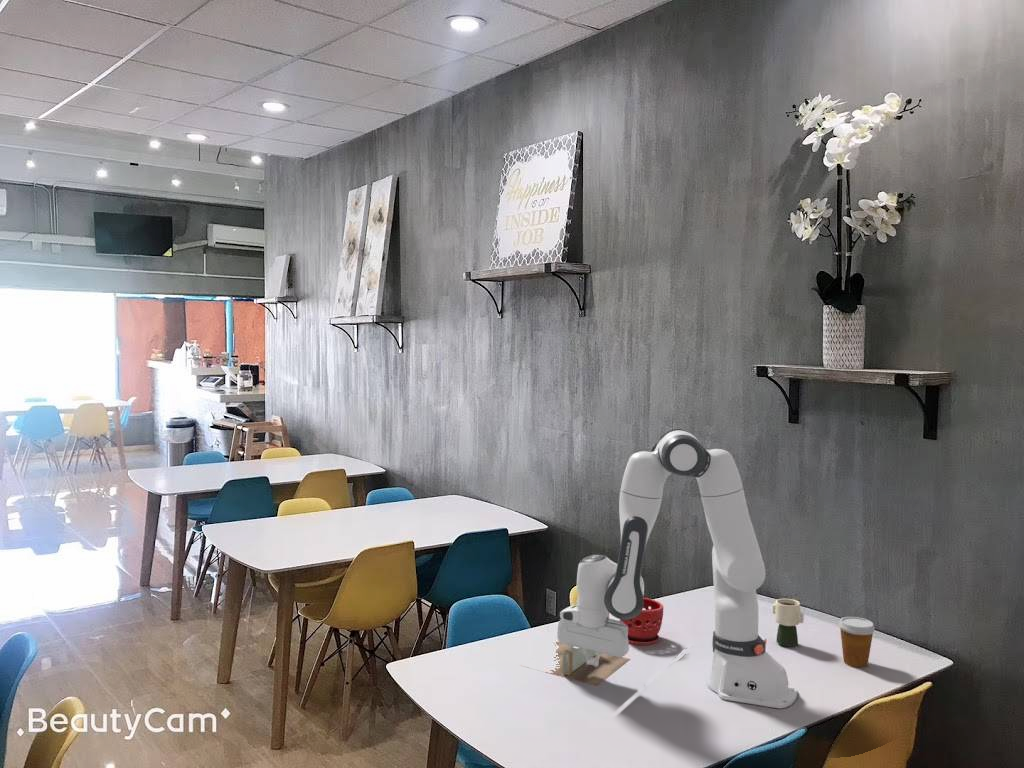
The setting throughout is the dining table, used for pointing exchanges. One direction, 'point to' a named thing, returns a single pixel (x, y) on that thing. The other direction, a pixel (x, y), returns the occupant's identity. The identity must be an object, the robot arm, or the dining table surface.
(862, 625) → the disposable coffee cup
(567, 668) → the gate
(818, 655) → the dining table surface
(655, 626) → the plant pot
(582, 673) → the gate base board
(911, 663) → the dining table surface
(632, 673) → the dining table surface
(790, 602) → the character mug
